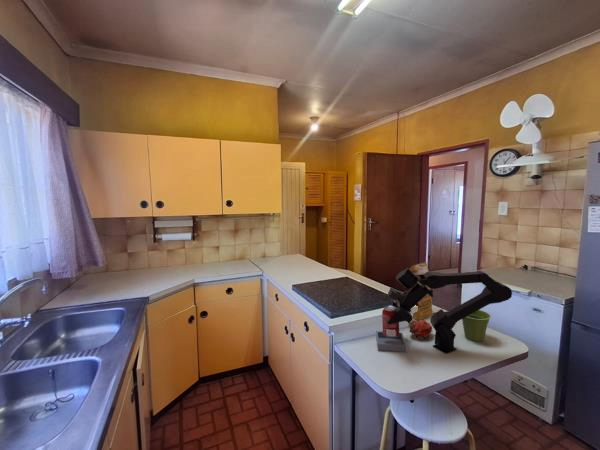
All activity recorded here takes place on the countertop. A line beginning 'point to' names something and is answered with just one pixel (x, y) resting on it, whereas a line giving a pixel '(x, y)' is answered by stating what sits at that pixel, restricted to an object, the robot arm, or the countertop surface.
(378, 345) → the box
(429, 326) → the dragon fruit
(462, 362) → the countertop surface
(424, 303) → the pancake mix bag
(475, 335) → the plant pot
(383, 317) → the soda can
